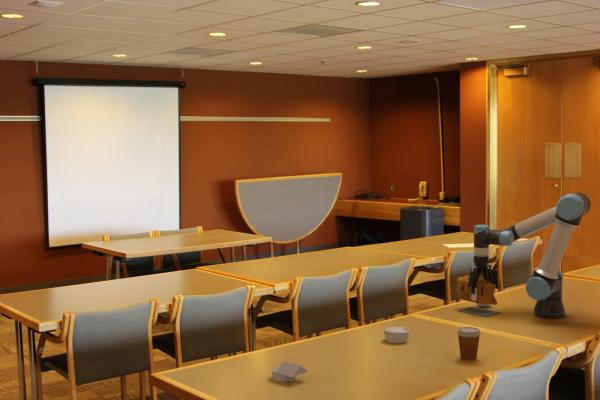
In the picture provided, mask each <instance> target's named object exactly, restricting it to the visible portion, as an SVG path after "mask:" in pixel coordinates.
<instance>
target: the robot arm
mask: <svg viewBox="0 0 600 400" xmlns="http://www.w3.org/2000/svg"><path fill="white" fill-rule="evenodd" d="M591 203H592V202H591V200H590V198H589V197H588V196H587V194H585V193H582V192H574V193H568V194H566V195H563V196H562V197H560V198H559V199H558V201H557V203H556V206H554V207H551V208H549V209H547V210H545V211H542V212H539V213H538V214H535V215H533V216H531V217H529V218H527V219H524V220H522V221H520V222H517V223H515V224H513V225H510V226H509V227H506V228H503V229H490V226H489V225H488V224H476V225H474V227H473V263H474V266H470V270H469V271H470V272H469V276H470V277H469V283H468V286H469V287H471V294H472V296H471V300H474V301H477V288H475V287H476V285H477V282H478V279H479V278H480V277H481V275H482V279H485V280H487V281H488V282H489V283H491V284H494V278H493V272H492V264H489V262H490V259H489V257H490V256H489V255H490V245H494V246H502V247H510V246H512V245H513V243H514V242H516V241H518V240H520V239H522V238H524V237H527V236H530V235H532V234H534V233H536V232H538V231H541V230H543V229H546V228H548V227H551V226H553V225H554V226H553V229H552V232H551V234H550V237H549V239H548V242H547V245H546V247H545V249H544V252H543V255H542V258H541V260H540V263H539V265H538V266H537V267H534V269H533V272H532V274H531V277H530V278H528V280H527V281H526V282H525V291H526V293H527V294H528V296H529V297H530V298H531V299H533V300H536V303H535V306H534V309H533V314H534V316H536V317H539V318H547V319H561V318H564V317H566V308H565V306H564V302H563V278H564V277H563V272H562V271H561V270H559V268H560V265H561V262H562V260H563V257H564V255H565V252H566V251H567V247H568V244H569V242H570V240H571V237H572V234H573V232H574V230H575V228H577V227H579V226H580V223H581V222H582V219H583V217H584V216H585V215H587V214H588V213H589V211H590V209H591V206H592V204H591Z"/></svg>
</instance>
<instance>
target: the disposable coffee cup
mask: <svg viewBox="0 0 600 400" xmlns="http://www.w3.org/2000/svg"><path fill="white" fill-rule="evenodd" d="M456 334H457V338H458V347H459V356H460V359H461V360H463V361H470V362H471V361H475V360H477V359H478V352H479V351H478V350H479V344H480V336H481V334H482V332H481V330H480V328H478V327H472V326H462V327H459V328H458V329H457V331H456Z"/></svg>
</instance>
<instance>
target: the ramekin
mask: <svg viewBox="0 0 600 400" xmlns="http://www.w3.org/2000/svg"><path fill="white" fill-rule="evenodd" d="M383 333H384V338H385V339H384V340H385V341H386V342H387V343H389V344H396V345H397V344H399V343H401V344H405V343H407V342H408V340H409V334H410V329H409V328H408V327H405V326H404V327H403V326H388V327H385V328H384V329H383ZM399 345H400V344H399Z"/></svg>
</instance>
